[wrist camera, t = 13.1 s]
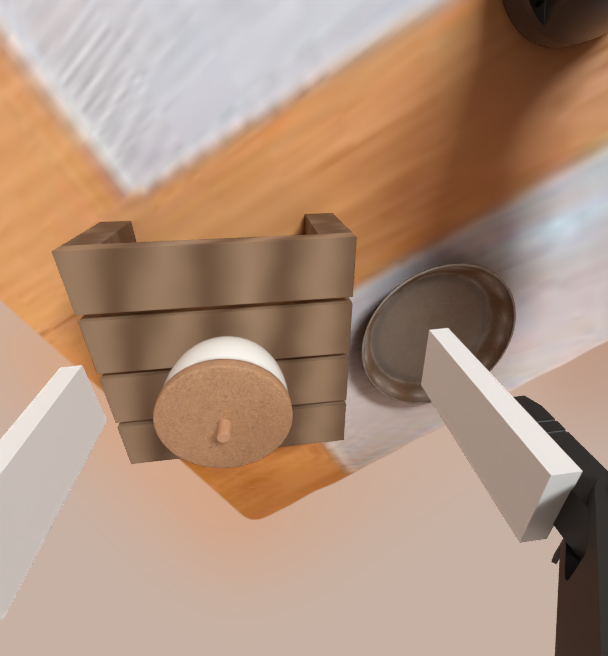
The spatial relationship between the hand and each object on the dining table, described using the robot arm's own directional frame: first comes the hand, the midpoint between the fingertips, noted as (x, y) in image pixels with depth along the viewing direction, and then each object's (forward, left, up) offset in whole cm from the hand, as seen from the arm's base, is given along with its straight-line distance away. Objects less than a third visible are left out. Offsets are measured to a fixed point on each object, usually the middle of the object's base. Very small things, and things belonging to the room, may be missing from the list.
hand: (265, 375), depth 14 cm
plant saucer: (-22, +16, -28) cm, 39 cm away
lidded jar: (+3, +11, -18) cm, 21 cm away
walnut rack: (+4, +12, -27) cm, 30 cm away
